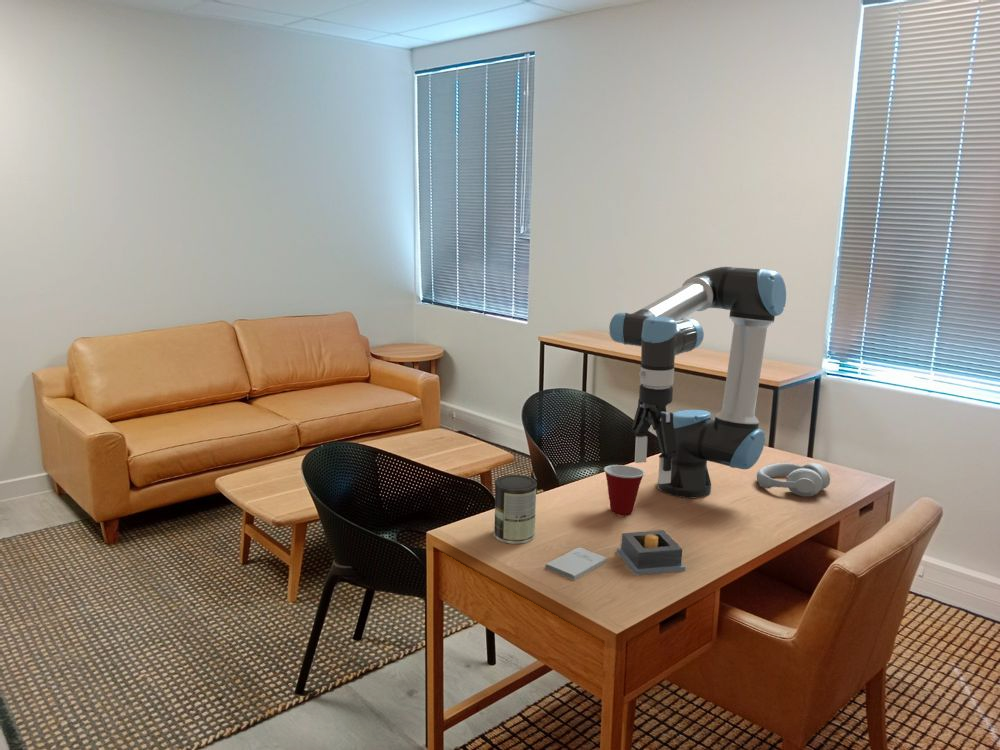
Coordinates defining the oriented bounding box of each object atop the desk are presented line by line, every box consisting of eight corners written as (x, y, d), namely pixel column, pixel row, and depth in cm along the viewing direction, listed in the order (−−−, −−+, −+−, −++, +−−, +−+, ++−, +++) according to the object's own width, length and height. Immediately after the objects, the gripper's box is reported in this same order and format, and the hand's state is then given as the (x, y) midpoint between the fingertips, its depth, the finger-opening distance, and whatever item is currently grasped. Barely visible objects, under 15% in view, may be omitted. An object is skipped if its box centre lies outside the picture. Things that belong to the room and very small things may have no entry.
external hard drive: (545, 570, 177) (577, 552, 186) (574, 582, 172) (606, 563, 181) (545, 563, 177) (578, 546, 186) (574, 575, 172) (606, 557, 181)
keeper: (663, 547, 189) (665, 524, 187) (685, 570, 177) (687, 546, 176) (616, 551, 186) (617, 528, 185) (635, 575, 175) (636, 550, 173)
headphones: (839, 486, 230) (774, 478, 244) (838, 461, 229) (773, 454, 243) (813, 503, 217) (746, 493, 231) (812, 476, 216) (745, 467, 230)
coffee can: (485, 537, 193) (486, 483, 189) (508, 523, 201) (510, 471, 198) (520, 548, 187) (522, 492, 184) (543, 533, 195) (544, 480, 192)
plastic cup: (648, 509, 212) (651, 467, 209) (633, 522, 203) (636, 479, 200) (611, 500, 217) (613, 459, 215) (595, 513, 208) (597, 471, 205)
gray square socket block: (662, 545, 188) (663, 530, 187) (681, 565, 178) (682, 549, 177) (621, 548, 185) (622, 533, 184) (637, 569, 175) (638, 552, 174)
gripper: (620, 372, 189) (617, 455, 194) (664, 401, 166) (659, 494, 171) (649, 371, 191) (645, 453, 196) (696, 398, 167) (691, 490, 173)
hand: (652, 472), depth 183 cm, fingers open, 13 cm apart
